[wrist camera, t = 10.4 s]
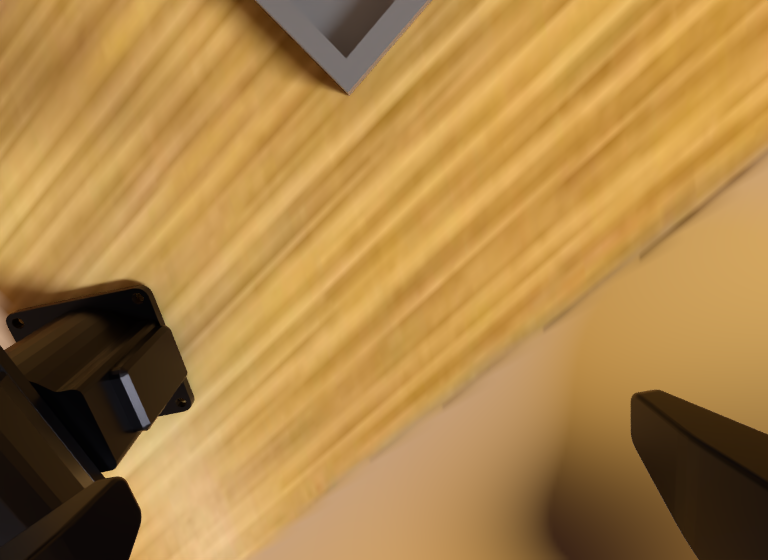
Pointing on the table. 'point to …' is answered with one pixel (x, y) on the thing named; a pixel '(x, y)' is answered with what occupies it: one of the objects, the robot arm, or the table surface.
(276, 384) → the table surface
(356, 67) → the tray
